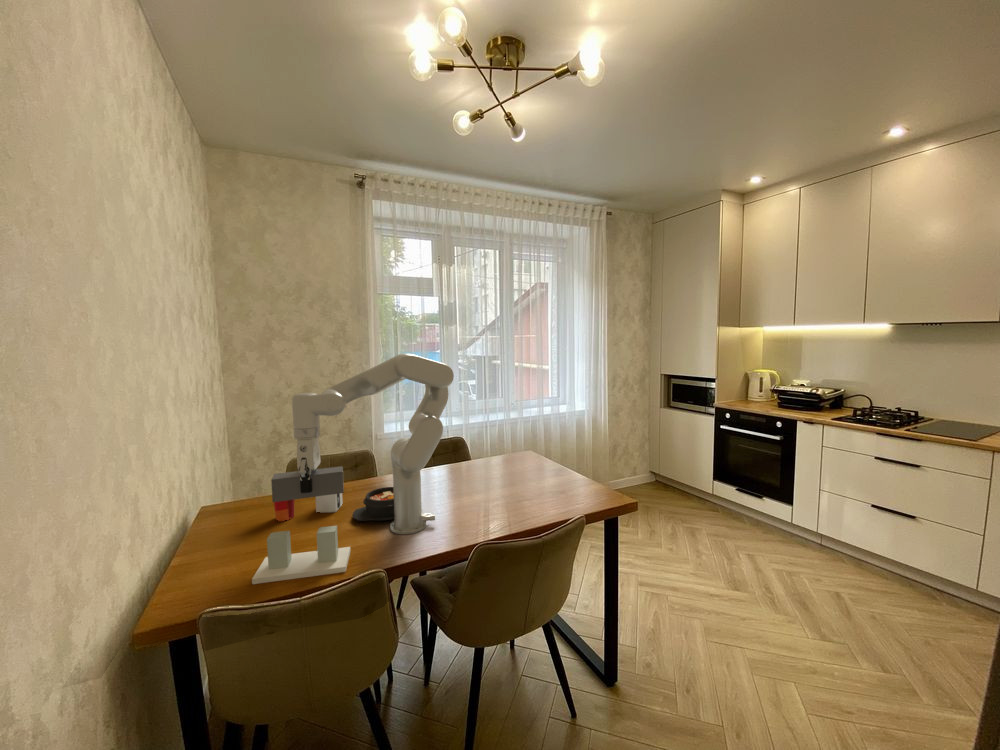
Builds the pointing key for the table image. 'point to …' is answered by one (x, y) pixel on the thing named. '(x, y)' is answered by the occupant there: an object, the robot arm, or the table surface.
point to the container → (329, 503)
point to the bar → (322, 484)
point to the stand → (302, 557)
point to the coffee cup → (284, 510)
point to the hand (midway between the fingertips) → (309, 487)
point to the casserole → (377, 506)
